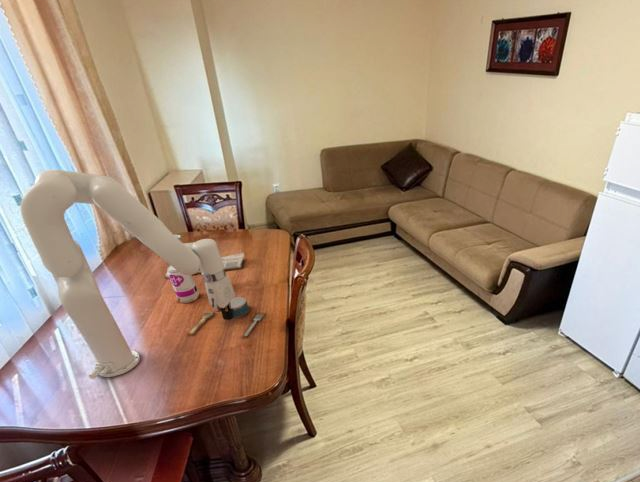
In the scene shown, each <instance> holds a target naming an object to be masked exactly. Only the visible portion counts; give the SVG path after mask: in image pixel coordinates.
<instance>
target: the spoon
mask: <svg viewBox="0 0 640 482" xmlns="http://www.w3.org/2000/svg"><path fill="white" fill-rule="evenodd" d="M214 315H215V314H214V312H213V311H210V310H209V311H205V312H203V313H202V314H201V319H200V320H199V321H198V322H197V323H196V324H195V325H194V326H193V328H192V329H191V330H190V331H189V332H188V334H189V335H190V336H193V335H195V333H196V332H197V331H198V330H199V329H200V328H201V326H202V325H204V323H205V322H206V321H208V320H209V319H211V318H213V317H214Z"/></svg>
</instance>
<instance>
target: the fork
mask: <svg viewBox="0 0 640 482" xmlns="http://www.w3.org/2000/svg"><path fill="white" fill-rule="evenodd" d="M264 316H265V313H263V314H262V313H261V314H260V313H257V314H256V315H255V317H254V318H253V320H252V321H253V322H252V323H251V325H250V326H249V327H248V328H247V330H246V331H245V333H244V334H243V337H244V338H247V337H248V336H249V335H250V334H251V332H252V330H254V329H255V327H256V324H257V323H258V322H260V321H261V320H262V319H263V317H264Z"/></svg>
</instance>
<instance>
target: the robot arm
mask: <svg viewBox="0 0 640 482" xmlns="http://www.w3.org/2000/svg"><path fill="white" fill-rule="evenodd" d="M75 203H76V204H87V205H89V204H90V205H96V206H97V207H98V208H99V209H100V210H102V212H104V213H105V214H106V215H108V217H110V218H112V220H114V221H115V222H117V224H119V225H120V226H122V228H124V229H125V230H126V231H128V232H129V233H130V234H131V235H133V236H134V237H135V238H136V239H138V240H139V242H141V243H142V244H143V245H145V246H146V247H148V248H149V249H150V250H151V251H153V252H154V253H155V254H156V255H157V256H158V257H160V258H161V259H162V260H163V261H164V262H166V263H167V264H168V265H169V266H170V265H171V266H172V267H173V268H175V269H176V270H177V271H178V272H180V273H182V274H184V275H192V276H193V275H196V274H195V273H197V272H198V271H199V269H200V270H201V273H200V274H201V275H202V279H203V281H204V286H205V291H206V295H207V299H208V302H209V305H210V306H211V308H213V309H214V312H215V313H221V316H222V318H223V321H224V320H226V321H231V320H233V319H232V318H233V314H232V311H231V309H230V308H231V304H230V301H231V300H232V299H233V298H234V297H236V292H235V290H234V287H233V284H232V281H231V279H230V277H229V275H228V273H227V272H226V270H225V269H224V266H223V263H222V260H221V254H220V251H219V247H218V244H217V241H215V240H214V239H212V238H202V239H199V240H196V241H193V242H185V243H183V241H182V242H181V241H180V240H179V239H177V238H176V237H175V236H174V234H173V232H171V231H170V229H169V228H168V227H167V226H166V225H165V223H164V222H162V220H161V219H160V218H158V217H157V216H156V215H155V214H154V213H153V212H152V211H151V210H149V209H148V208H147V207H146V206H145V205H144V204H143V203H142V202H140V201H139V200H138V199H137V198H136V197H135V196H134V195H132V193H130V192H129V191H128V190H127V189H126V188H124V187H123V185H121V184H120V182H119V181H118V180H116V179H114V178H113V177H111V176H107V175H103V174H102V175H101V174H95V173H86V172H85V173H84V172H77V171H70V170H61V169H46V170H43V171H41V172H40V173H38V174H37V176H36V177H35V179H34V184H32V186H30V187H29V189H27V191H26V192H25V193H24V195H23V196H22V199H21V202H20V206H19V207H20V215H21V219H22V221H23V225H24V226H25V229H26V231H27V232H28V235H29V236H30V239H31V241H32V243H33V245H34V247H35V250H36V251H37V253H38V255H39V257H40V260H41V263H42V265H43V266H44V268H45V269H46V270H47V271H48V272H49V273H51V275H52V277H53V279H54V281H55V283H56V285H57V291H58V299H59V302H60V303H61V306H62V307H63V309H64V311H65V313H66V314H67V315H68V317H69V318H70V319H71V320H72V322H73V324H74V325H75V327H76V328H77V330H78V332H79V334H80V335H81V336H82V338H83V340H84V341H85V343H86V345H87V346H88V348H89V350H90V351H91V353H92V354H93V356H94V358H95V360H96V362H95V363H94V364H95V366H96V367H95V368H94V370H93V371H91V372H90V373H89V374H88V378H90V379H91V380H95V379H96V378H97V377H98V376H100V377H103V378H112V377H117V376H121V375H123V374H125V373H127V372H129V371H131V370H133V368H135V367H136V366H137V365H138V364H139V362H140V360H141V356H140V353H139V352H138V351H136V350H132V349H131V347H130V346H129V344H128V343H127V340H126V338H125V336H124V335H123V332H122V331H121V328H120V327H119V325H118V324H117V322H116V320H115V318H114V316H113V314H112V312H111V311H110V308H109V307H108V304H107V302H106V301H105V299H104V296H103V295H102V292H101V290H100V288H99V286H98V283H97V280H96V277H95V275H94V274H93V271H92V269H91V267H90V265H89V263H88V259H87V258H86V256H85V253H84V251H83V249H82V247H81V245H80V243H78V242H77V241H76V240H75V239H74V237H73V235H72V233H71V230H70V228H69V226H68V223H67V221H66V220H65V214H66V211H67V210H68V209H70V208H71V207H72V206H73V205H74V204H75Z"/></svg>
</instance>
